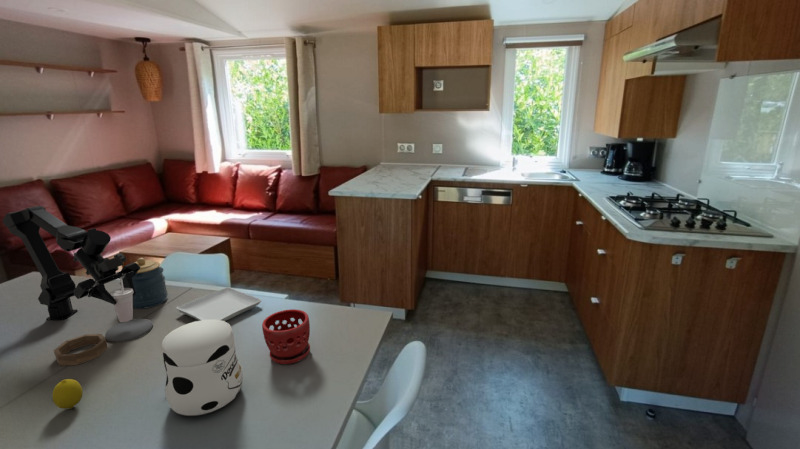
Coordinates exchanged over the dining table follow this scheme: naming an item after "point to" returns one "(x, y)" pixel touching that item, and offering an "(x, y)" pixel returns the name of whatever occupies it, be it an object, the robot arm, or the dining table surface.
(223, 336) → the milk container
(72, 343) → the brown octagonal holder
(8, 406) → the dining table surface
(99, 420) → the dining table surface
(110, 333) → the rubber mat
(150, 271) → the canister
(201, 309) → the salad plate
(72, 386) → the lemon
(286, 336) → the plant pot
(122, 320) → the smoothie
